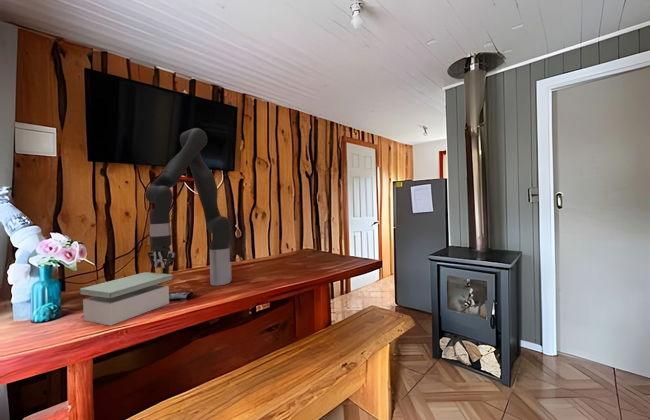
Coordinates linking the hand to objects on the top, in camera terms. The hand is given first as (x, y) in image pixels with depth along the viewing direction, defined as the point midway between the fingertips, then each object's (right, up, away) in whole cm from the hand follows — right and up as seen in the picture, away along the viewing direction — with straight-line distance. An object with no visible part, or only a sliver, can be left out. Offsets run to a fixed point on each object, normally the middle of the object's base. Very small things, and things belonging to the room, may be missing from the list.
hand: (162, 276), depth 113 cm
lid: (-4, -1, -11) cm, 11 cm away
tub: (-5, -10, -12) cm, 16 cm away
